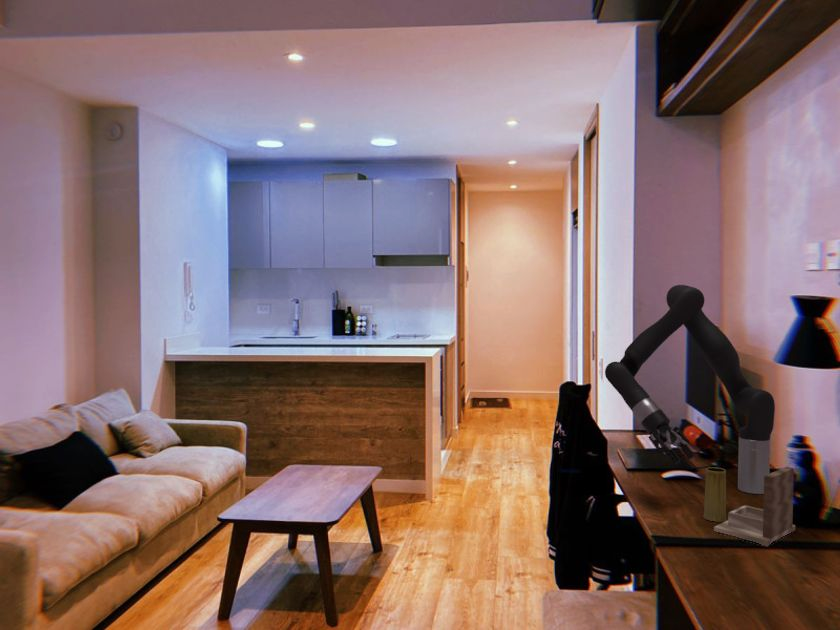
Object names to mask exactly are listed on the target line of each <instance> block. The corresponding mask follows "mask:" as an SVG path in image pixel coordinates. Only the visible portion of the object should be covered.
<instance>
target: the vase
mask: <svg viewBox="0 0 840 630" xmlns="http://www.w3.org/2000/svg"><path fill="white" fill-rule="evenodd" d="M726 483H727V470H726V469H724V468H721V467H717V466H716V467H714V466H712V467H711V466H710V467H707V468H705V484H704V485H705V486H704V487H705V490H704V502H703V503H704V504H703V505H704V508H703V509H704V511H703V519H704V520H706V521H708V520H709V521H708V522H712V521H714V522H713V523H723V522H725V521H727V520H728V519H727V518H728V517H727V504H726V503H727V490H726V487H727V484H726Z"/></svg>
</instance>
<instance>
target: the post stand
mask: <svg viewBox="0 0 840 630" xmlns="http://www.w3.org/2000/svg"><path fill="white" fill-rule="evenodd" d="M794 470H795V469H794V468H793V467H789V466H785V467H782V468H779V469H778V470H775V471H773V472H769V474H768V475H765V476H764V494H763V508H759V507H754V506H749V505H746V504H744V505H743V506H742V505H741V506H740V507H738V508H735V509H733V510H731V511H728V513H727V514H728V516H727V518H728V519H727V520H726V521H724V522H720V523H718V524H717V525H715V526H713V532H714V531H716V532H720V533H724V534H728V535H732V536H736V537H739V538H743V539H746V540H749V541H753V542H756V543H759V544H761V545H760V546H763V547H767V548H768V547H769V545H770V544H771V543H772V542H773V541H775V540H777V539H779V538H781V537H783V536H785V535H787V534H789V533H790V534H791V532H792V533H793V531H794V532H795V531H796V525H795V524H793V518H794V512H793V510H794V508H793V507H794V482H795V481H794V477H795V476H794V473H795V471H794ZM790 534H789V535H790ZM787 536H788V535H787ZM785 537H786V536H785ZM783 538H784V537H783ZM759 544H758V545H759ZM771 545H772V544H771ZM771 545H770V546H771Z"/></svg>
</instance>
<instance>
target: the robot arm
mask: <svg viewBox="0 0 840 630" xmlns="http://www.w3.org/2000/svg"><path fill="white" fill-rule="evenodd" d="M665 299H666V304H667V306H668V308H669V309H668V311H667V312H666V313H665V314H664V315H663V316H662V317H661V318H659V319H658V320H657V321H656V322H654V323H653V324H652V325H650V326H649V327H647V328H646V329H644V330H643V331H642V332H641V333H640V334H638V335H637V337H635V338H634V340H633V341H632V342H631V343H630V344H629V345H628V346H627V348H626V349H625V350H624V355H623V356H622V358H621V359H620V361H612V362H609V363H608V364H607V365H606V367H605V370H604V375H605V377H606V380H607V381H608V382H609V383H610V385H611V386H612V387H613V388H614V389H615V390H616V391H617V392H618V394H619V395H620V396H621V398H622V399H623V401H624V402H625V404H626V405H627V407H628V408H629V409H630V410H631V412H632V413H633V414H634V417H635V418H636V420H637V421H638V422H639V423H640V424H641V426H642V427H643V429H644V430H645V432H647V434H648V435H649V436H648V439H649V440H650V442H651V443H652V444H653V446H654V447H655V448H656V451H658V453H659V454H662V453H663V454H664V455H666V456H667V457H668V458H669V459H670V460H671V462H672V463H673V465H676V464H678V463H680V462H681V458H680V457H679V456H678V454H677V453H676V452H675V451H674V449H672V446H674V447H677V448H679V449H680V450H681V452H682V453H683V454H684V455H685V457H686V458H687V460H692V459H693V458H694V457H695V453H694V452H693V450H692V449H691V448H690V447H689V446H688V445H689V443H690V440H689V439H688V437H686V435H685V434H684V432H682V430H681V429H680V428H679V427H678V426H675V427H673V428H672V427H671V426H670V422H671V421H670V418H668V416H667V415H666V414H665V412H664V410H662V409H661V408H660V405H658V404H657V402H656V401H655V400H654V399H653V398H652V397H651V396H650V394H649V393H648V392H647V391H646V390H645V388H644V387H642V386H641V385H640V384H639V382H638V381H637V380H636V379H635V377H636V375H637V374H638V372H639V371H640V369H641V367H642V366H643V365H644V363H645V362H646V361H647V360H648V359H649V358H650V357H652V355H653V354H654V353H655V352H656V351H657V349H659V347H660V346H661V345H662V344H663V343H664V342H665V341H666V340H668V339H669V337H671V336H672V335H673V334H674V333H675V332H676V331H678V330H679V328H681V327H682V326H684V327H685V329H686V330H687V332H688V334H689V335H690V336H691V338H692V340H693V341H694V343H695V345H696V346H697V348H698V349H699V351H700V353H701V354H702V356H703V358H704V359H705V360H706V362H707V363H708V365H709V366H710V367H711V369H712V370H713V372H714V373H715V375H716V376H717V378H718V379H719V381H720V382H721V384H722V385H723V387H724V388H725V390H726V392H727V394H728V396H729V399H731V401H732V404H733V405H734V407H735V408H736V410H737V411H738V412H739V413H740V414H742V415H744V416H747V423H746V425H745V426H741V427H740V428H739V430H738V455H737V456H738V459H737V460H738V463H737V464H738V467H737V490H739V491H740V492H743V493H748V494H755V495H764V476H765V475H768V474H770V466H771V464H770V463H771V462H770V461H771V435H772V433H773V430H774V425H775V424H774V423H775V412H776V410H775V409H776V405H775V399H774V397H773V394H771V393H770V392H769V391H767V390H765V389H759V388H755V387H753V386H752V385H751V384H750V383H749V382H748V380H747V379H746V378H745V376H744V375H743V373H742V370H741V364H740V357H739V354H738V352H737V350H736V347H735V346H734V345H733V343H732V342H731V341H730V339H729V338H728V336H726V334H725V333H724V332H723V331H722V330H721V329H720V328H719V327H718V326H717V325H716V324H714V322H712V321H711V320H710V319H709V318H708V317H707V316H706V314H705V313H704V312H703V307H704V304H705V295H704V294H703V292H702V291H701V290H700V289H698V288H696V287H693V286H690V285H686V284H677V285H674V286H672V287H671V288H669V290H668V291H667V293H666V298H665Z"/></svg>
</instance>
